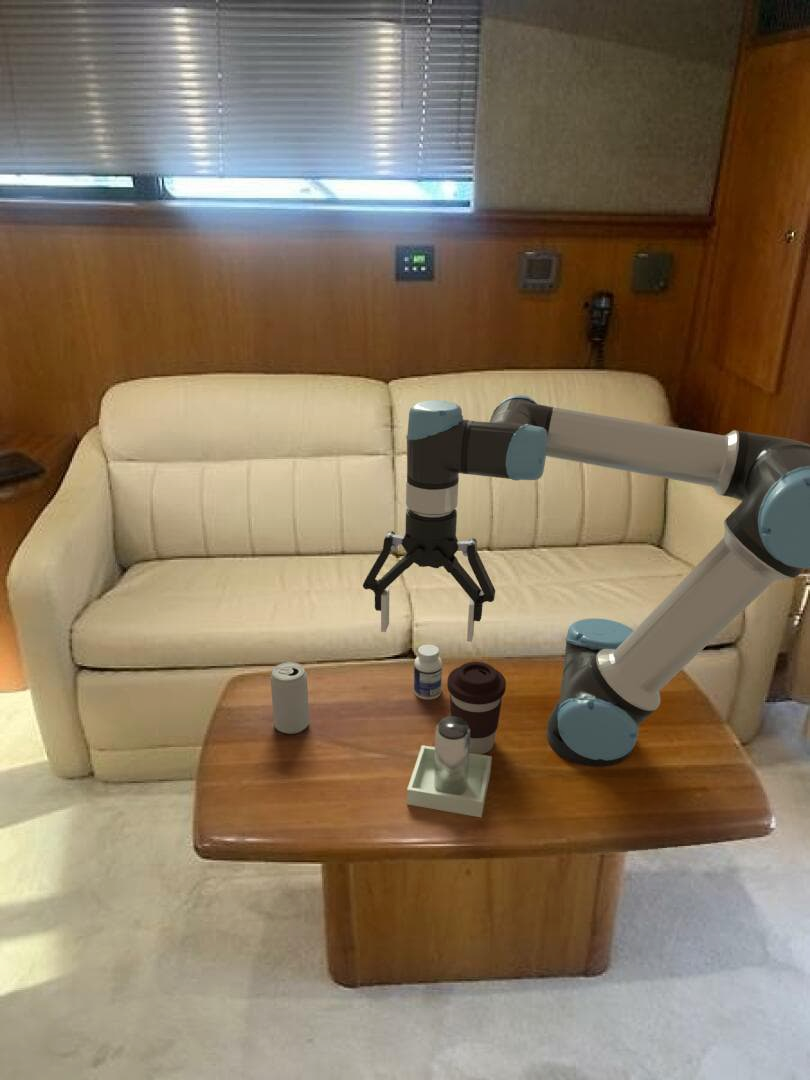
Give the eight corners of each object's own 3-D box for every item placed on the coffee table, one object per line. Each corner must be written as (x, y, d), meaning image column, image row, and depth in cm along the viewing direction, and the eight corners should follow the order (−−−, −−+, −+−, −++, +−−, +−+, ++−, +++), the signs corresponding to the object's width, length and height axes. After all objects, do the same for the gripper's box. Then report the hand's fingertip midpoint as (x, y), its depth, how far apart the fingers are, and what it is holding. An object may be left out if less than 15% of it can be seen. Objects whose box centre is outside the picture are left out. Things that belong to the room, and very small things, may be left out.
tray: (490, 770, 133) (491, 756, 132) (481, 817, 123) (482, 802, 122) (421, 759, 135) (421, 745, 134) (407, 804, 126) (407, 789, 124)
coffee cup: (451, 764, 134) (454, 691, 128) (440, 728, 143) (442, 658, 137) (507, 758, 136) (513, 686, 130) (493, 723, 145) (498, 654, 138)
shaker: (469, 775, 131) (473, 717, 126) (464, 799, 126) (467, 738, 121) (437, 770, 132) (439, 712, 127) (431, 793, 127) (432, 733, 122)
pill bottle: (415, 683, 156) (416, 641, 152) (442, 685, 155) (444, 643, 151) (412, 699, 151) (412, 656, 147) (440, 701, 151) (441, 658, 146)
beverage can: (303, 738, 140) (299, 682, 135) (269, 734, 141) (264, 678, 136) (314, 717, 146) (311, 662, 141) (281, 712, 147) (277, 658, 142)
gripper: (518, 505, 116) (508, 628, 125) (354, 491, 120) (356, 612, 129) (515, 525, 110) (505, 654, 119) (342, 510, 114) (344, 635, 123)
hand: (427, 632), depth 124 cm, fingers open, 13 cm apart
